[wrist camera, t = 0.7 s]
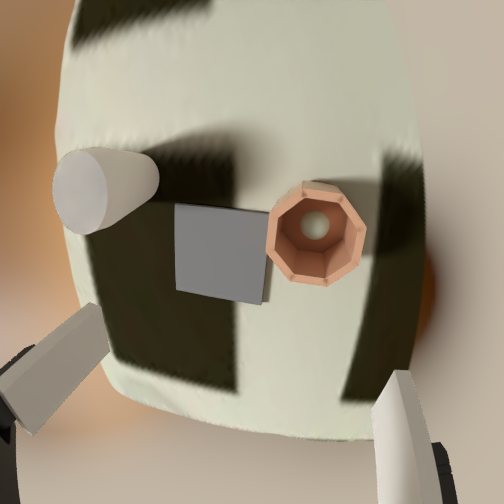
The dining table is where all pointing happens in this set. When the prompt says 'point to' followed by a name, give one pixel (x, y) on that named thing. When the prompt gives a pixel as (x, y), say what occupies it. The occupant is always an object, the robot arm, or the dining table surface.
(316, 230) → the ball
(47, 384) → the robot arm
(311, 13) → the dining table surface
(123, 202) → the cup
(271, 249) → the pot
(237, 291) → the mat
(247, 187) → the dining table surface
